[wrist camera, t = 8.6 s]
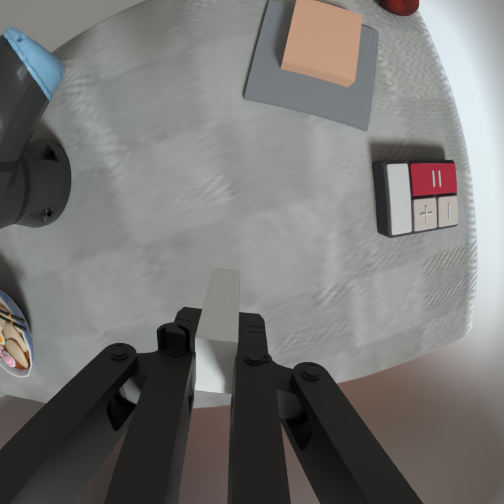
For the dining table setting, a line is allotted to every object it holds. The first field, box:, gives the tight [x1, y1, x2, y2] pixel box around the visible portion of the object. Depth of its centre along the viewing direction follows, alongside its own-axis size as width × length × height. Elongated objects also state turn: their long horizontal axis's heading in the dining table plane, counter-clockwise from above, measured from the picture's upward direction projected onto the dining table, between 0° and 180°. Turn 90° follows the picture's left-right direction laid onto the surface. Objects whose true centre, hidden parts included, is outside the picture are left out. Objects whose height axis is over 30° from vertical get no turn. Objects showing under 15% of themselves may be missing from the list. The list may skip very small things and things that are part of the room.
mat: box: [244, 0, 379, 131], centre depth 32 cm, size 18×19×1 cm
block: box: [280, 0, 362, 88], centre depth 30 cm, size 10×3×13 cm
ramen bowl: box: [0, 290, 33, 378], centre depth 40 cm, size 25×23×8 cm
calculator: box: [372, 160, 458, 238], centre depth 36 cm, size 11×4×15 cm
